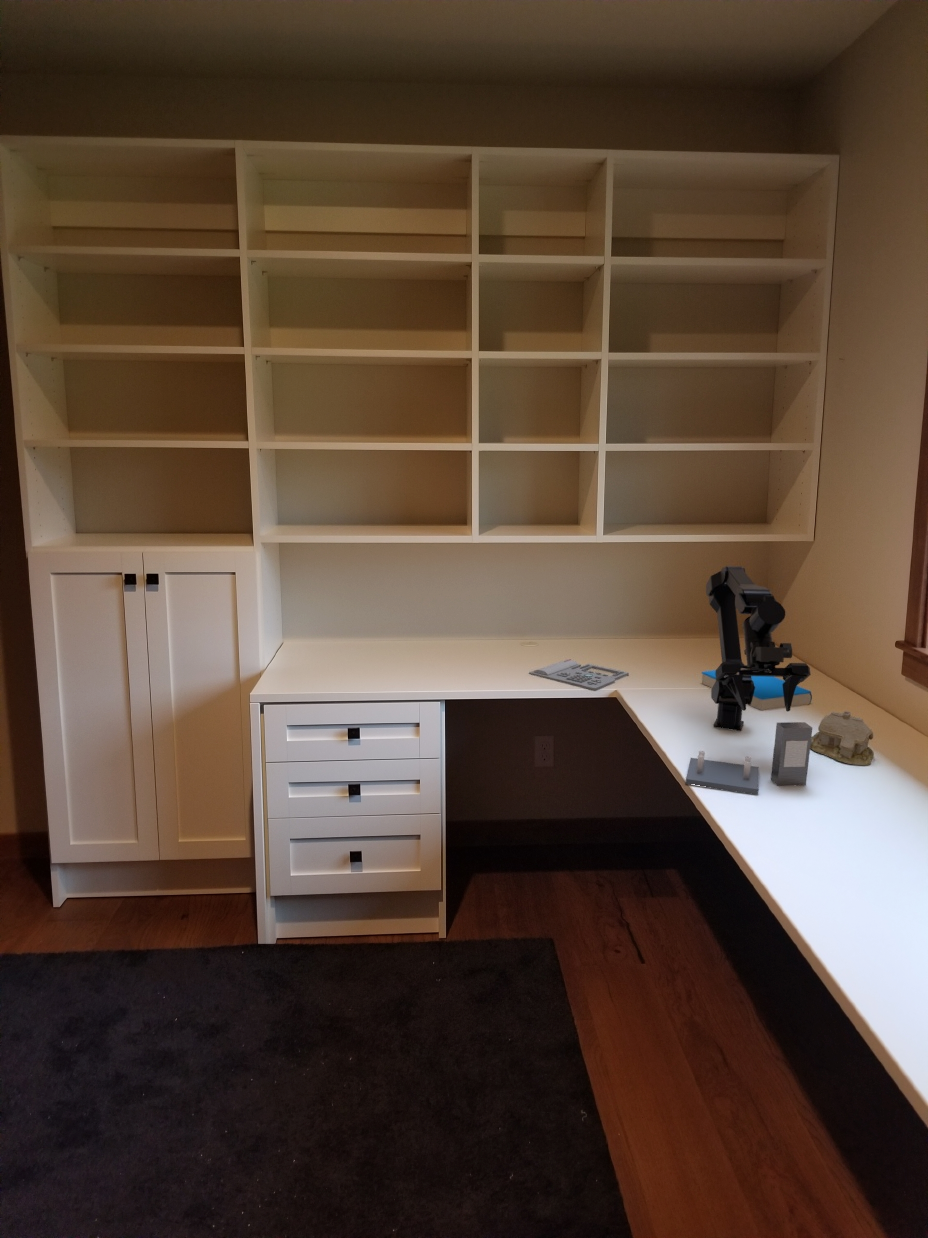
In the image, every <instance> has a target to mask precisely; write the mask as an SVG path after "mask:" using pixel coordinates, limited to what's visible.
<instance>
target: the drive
mask: <svg viewBox="0 0 928 1238" xmlns="http://www.w3.org/2000/svg"><path fill="white" fill-rule="evenodd" d="M774 735H775V736H774V746H773V755H772V764H771V774H770V780H771V781H772V782H773V783H774V784H775V785H776V786H778V787H781V786H782V787H786V786H794V785H796V786H797V787H798V786H807V777H808V770H809V763H810V762H809V760H810V753H811V752H810V751H811V748H810V745H811V737H812V736H813V727H812V726H811V725H810V724H808V723H807V722H805V721H804V722H803V721H802V722H796V721H795V722H792V721H791V722H790V721H789V722H785V721H784V722H782V721H781V722H776V726H775V734H774Z"/></svg>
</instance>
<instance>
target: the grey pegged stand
mask: <svg viewBox="0 0 928 1238" xmlns="http://www.w3.org/2000/svg"><path fill="white" fill-rule="evenodd" d="M705 753H706V752H705V751H704V750H699V751H698V756H697V758H695V757H690V759H689V764H688V768H687V773H686V777H685V778H686V779H685V785H688V786H692V785H691V784H695V785H700V786H706V787H705V788H707V787H711V788H710V789H714V788H717V789H716V790H721V789H723V790H722V791H727V790H730V791H729V792H734V791H737V792H736V793H741V792H745V793H744V794H748V793H752V794H751V795H755V794H758V795H759V787H760V786H759V779H760V778H759V776H760V775H759V773H760V772H759V771H760V769H759V766H754V765H751V764H752V761H751V760H752V758H751V757H750V756H744V764H741V763H740V764H739V763H732V762H726V761H720V760H719V761H718V760H712V759H705ZM700 786H699V787H700Z"/></svg>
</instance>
